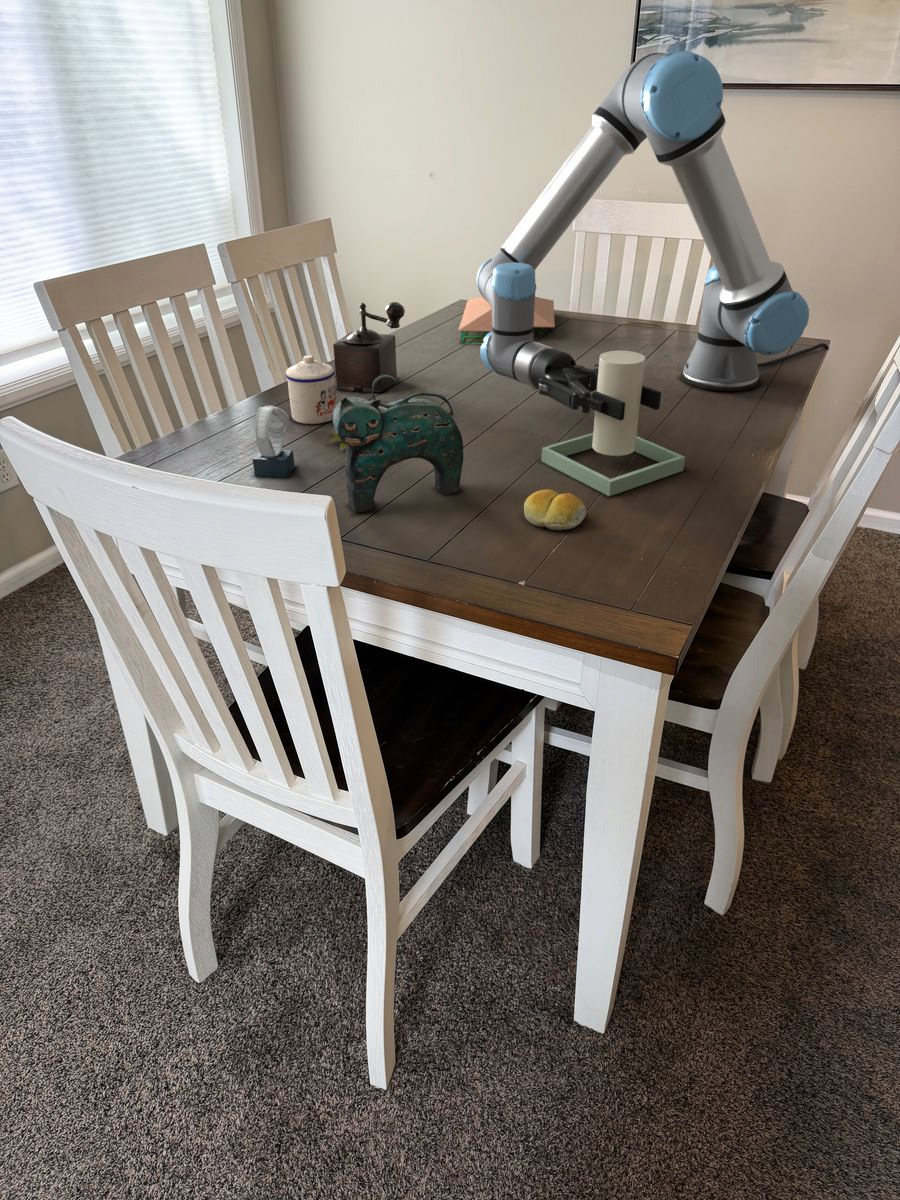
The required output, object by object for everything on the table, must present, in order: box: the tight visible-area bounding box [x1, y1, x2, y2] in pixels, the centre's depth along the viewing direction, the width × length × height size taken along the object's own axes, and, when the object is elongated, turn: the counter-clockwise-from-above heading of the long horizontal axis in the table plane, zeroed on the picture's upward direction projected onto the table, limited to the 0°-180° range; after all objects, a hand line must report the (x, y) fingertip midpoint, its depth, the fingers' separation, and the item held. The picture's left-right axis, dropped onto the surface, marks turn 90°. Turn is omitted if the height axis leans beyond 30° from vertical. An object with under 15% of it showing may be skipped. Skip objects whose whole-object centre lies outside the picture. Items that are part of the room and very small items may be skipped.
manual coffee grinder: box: [332, 301, 406, 393], centre depth 170 cm, size 16×11×18 cm
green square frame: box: [541, 432, 686, 497], centre depth 138 cm, size 17×17×2 cm
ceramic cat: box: [332, 375, 465, 514], centre depth 124 cm, size 20×6×20 cm, turn 114°
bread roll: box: [523, 489, 587, 531], centre depth 122 cm, size 8×9×4 cm
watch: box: [252, 405, 296, 479], centre depth 135 cm, size 6×8×11 cm
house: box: [457, 296, 555, 345], centre depth 209 cm, size 23×33×8 cm
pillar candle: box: [591, 350, 646, 457], centre depth 133 cm, size 7×7×15 cm
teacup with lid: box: [285, 354, 337, 425], centre depth 157 cm, size 12×9×12 cm
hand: (640, 406), depth 129 cm, fingers closed on pillar candle, 7 cm apart
